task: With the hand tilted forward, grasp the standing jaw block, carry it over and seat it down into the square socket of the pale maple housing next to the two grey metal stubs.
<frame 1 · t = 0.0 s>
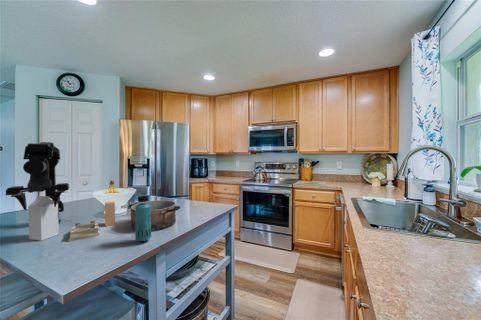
hand: (40, 208, 87), 15 cm above the counter, tool pointing down, fingers open, 9 cm apart
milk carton: (44, 237, 92), on the counter
cooking pot: (154, 224, 109), on the counter
jaw block: (110, 224, 108), on the counter
beverage bottle: (143, 241, 88), on the counter
housing: (85, 233, 96), on the counter
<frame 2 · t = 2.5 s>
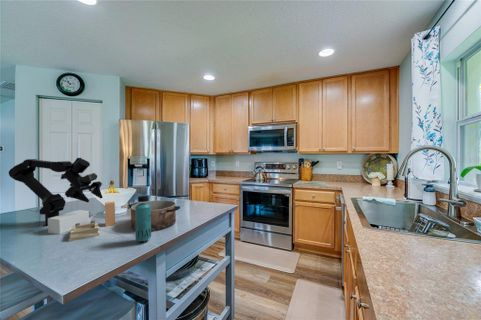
hand: (95, 199, 108), 13 cm above the counter, tool tilted 45°, fingers open, 9 cm apart
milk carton: (52, 226, 96), point 4 cm above the counter
everything else where it was.
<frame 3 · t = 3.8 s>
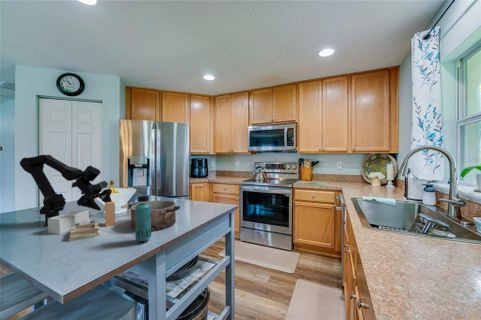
hand: (106, 207, 108), 9 cm above the counter, tool tilted 45°, fingers open, 9 cm apart
nothing on the counter moved.
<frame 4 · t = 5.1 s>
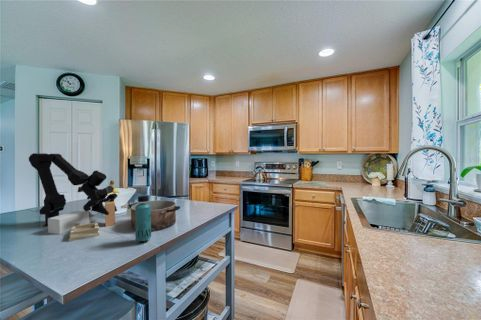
hand: (112, 212, 108), 7 cm above the counter, tool tilted 45°, fingers closed on jaw block, 6 cm apart
jaw block: (110, 224, 108), on the counter, touching gripper
everything else where it was.
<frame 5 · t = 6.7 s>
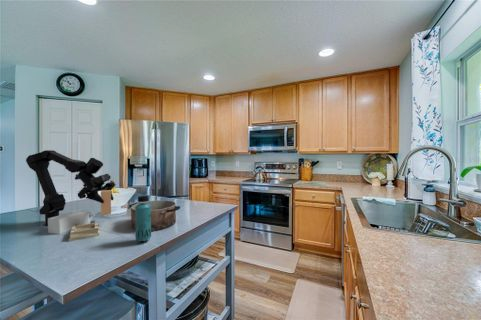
hand: (108, 201, 105), 13 cm above the counter, tool tilted 45°, fingers closed on jaw block, 6 cm apart
jaw block: (106, 213, 105), point 7 cm above the counter, touching gripper
everything else where it was.
when the fingers open (9 cm above the counter, at t = 8.6 s): jaw block drops 1 cm, resting on housing.
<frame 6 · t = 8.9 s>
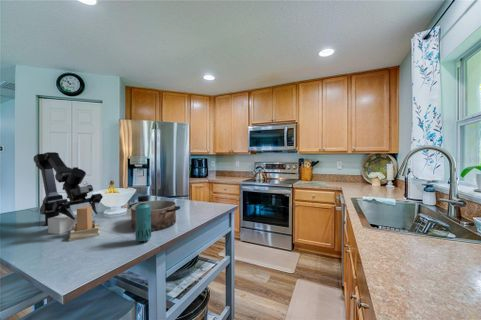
hand: (86, 216, 94), 9 cm above the counter, tool tilted 45°, fingers open, 9 cm apart
jaw block: (85, 232, 95), point 1 cm above the counter, touching housing
everything else where it was.
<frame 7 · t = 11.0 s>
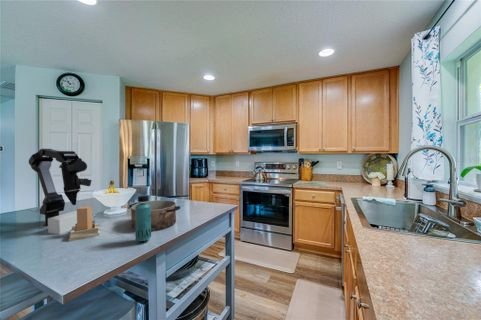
hand: (74, 205, 102), 12 cm above the counter, tool pointing down, fingers open, 9 cm apart
nothing on the counter moved.
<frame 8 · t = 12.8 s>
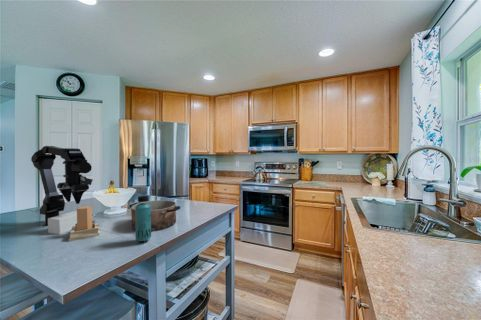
hand: (73, 202, 103), 13 cm above the counter, tool pointing down, fingers open, 9 cm apart
nothing on the counter moved.
at the end: jaw block 0.0 cm from the target spot on the housing, point 1.0 cm above the housing's base; jaw block tilted 0°; the gripper is holding nothing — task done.
